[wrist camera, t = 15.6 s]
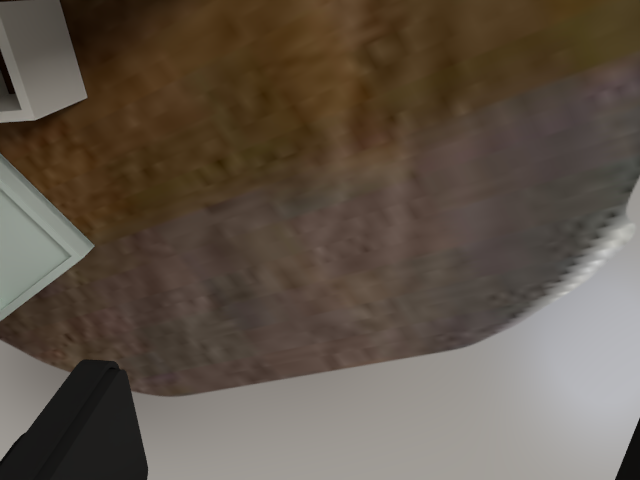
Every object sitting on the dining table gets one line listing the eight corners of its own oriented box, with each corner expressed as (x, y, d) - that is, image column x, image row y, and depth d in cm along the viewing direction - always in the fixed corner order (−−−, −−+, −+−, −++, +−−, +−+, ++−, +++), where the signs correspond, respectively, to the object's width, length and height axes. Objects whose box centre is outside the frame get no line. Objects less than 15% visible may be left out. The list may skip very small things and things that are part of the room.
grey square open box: (-32, 6, 42) (-112, 12, 35) (58, -2, 41) (-5, 2, 34) (4, 103, 46) (-63, 126, 38) (87, 97, 45) (35, 120, 38)
